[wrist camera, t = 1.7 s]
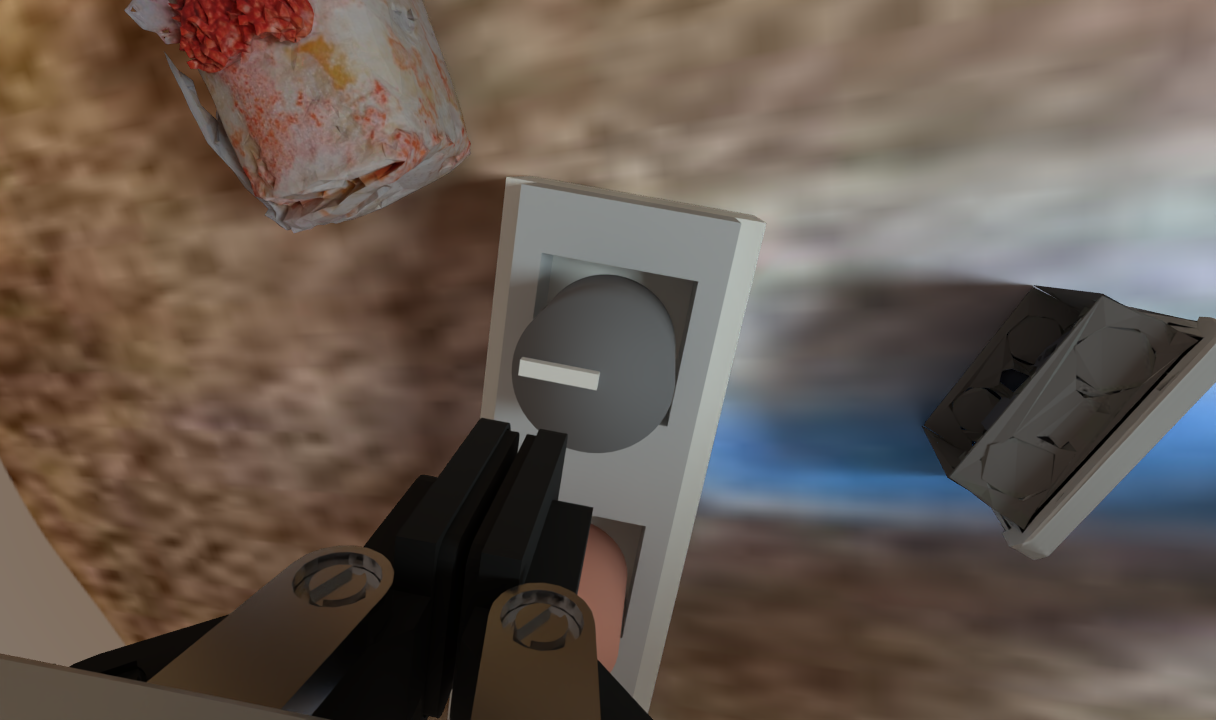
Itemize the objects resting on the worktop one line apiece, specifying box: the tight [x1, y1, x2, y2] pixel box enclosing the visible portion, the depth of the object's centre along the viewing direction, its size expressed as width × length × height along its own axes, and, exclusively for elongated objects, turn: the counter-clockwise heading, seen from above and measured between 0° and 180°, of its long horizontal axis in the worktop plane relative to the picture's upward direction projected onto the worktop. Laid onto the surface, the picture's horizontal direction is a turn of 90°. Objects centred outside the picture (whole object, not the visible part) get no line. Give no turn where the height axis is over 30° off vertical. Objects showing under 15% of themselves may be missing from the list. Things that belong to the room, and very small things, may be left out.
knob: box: [512, 274, 675, 453], centre depth 20 cm, size 5×5×4 cm
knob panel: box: [447, 176, 766, 720], centre depth 29 cm, size 10×30×6 cm, turn 171°
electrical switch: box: [922, 285, 1216, 560], centre depth 24 cm, size 9×5×9 cm, turn 152°
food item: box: [124, 0, 471, 233], centre depth 22 cm, size 14×8×10 cm, turn 19°
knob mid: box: [577, 524, 627, 672], centre depth 23 cm, size 5×5×4 cm
